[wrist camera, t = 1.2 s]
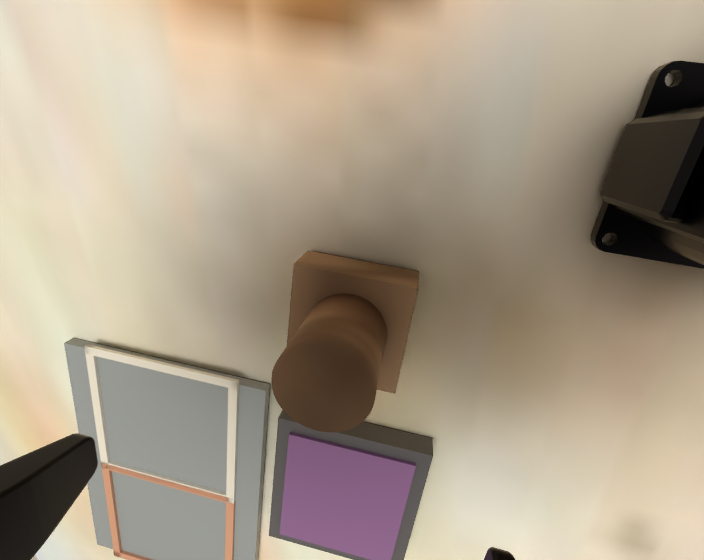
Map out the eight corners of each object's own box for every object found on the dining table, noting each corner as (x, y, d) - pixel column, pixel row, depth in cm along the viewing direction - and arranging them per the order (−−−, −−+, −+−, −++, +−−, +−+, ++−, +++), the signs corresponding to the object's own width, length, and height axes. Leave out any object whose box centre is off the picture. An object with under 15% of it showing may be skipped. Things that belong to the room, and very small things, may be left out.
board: (270, 379, 20) (264, 388, 20) (256, 585, 27) (251, 597, 26) (72, 333, 22) (60, 340, 21) (104, 539, 28) (95, 549, 28)
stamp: (419, 268, 17) (415, 338, 11) (398, 362, 19) (385, 467, 13) (311, 247, 18) (251, 303, 12) (301, 341, 19) (245, 431, 13)
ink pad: (432, 438, 20) (432, 459, 18) (401, 552, 23) (399, 576, 22) (286, 403, 21) (276, 420, 19) (276, 517, 24) (267, 538, 23)
